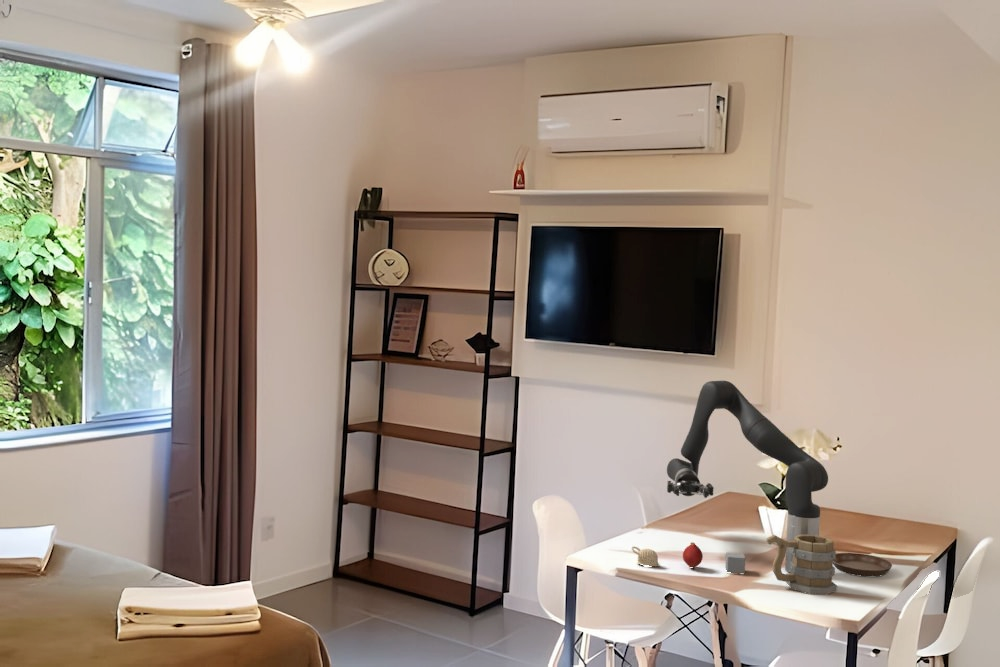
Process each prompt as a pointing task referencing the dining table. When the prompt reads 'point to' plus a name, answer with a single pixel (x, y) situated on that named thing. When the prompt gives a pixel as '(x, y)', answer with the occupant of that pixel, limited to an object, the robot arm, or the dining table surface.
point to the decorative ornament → (646, 557)
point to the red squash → (692, 555)
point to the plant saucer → (861, 564)
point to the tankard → (807, 563)
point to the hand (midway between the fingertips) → (692, 493)
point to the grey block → (735, 562)
